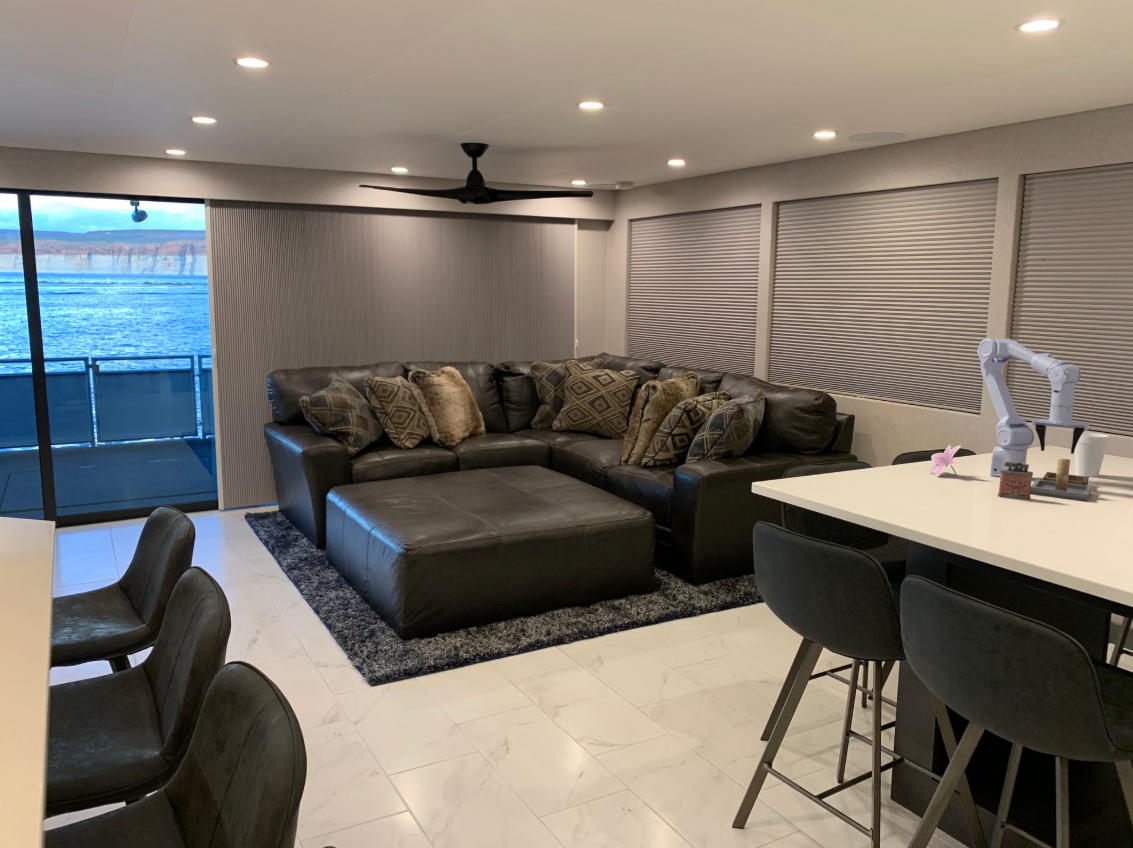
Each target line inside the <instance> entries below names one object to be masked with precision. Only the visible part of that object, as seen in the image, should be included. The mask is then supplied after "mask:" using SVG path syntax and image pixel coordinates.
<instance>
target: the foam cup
mask: <svg viewBox="0 0 1133 848" xmlns="http://www.w3.org/2000/svg"><path fill="white" fill-rule="evenodd" d="M1109 437H1110V436H1109V435H1107V434H1102V433H1096V432H1086V431H1084V432H1083V433H1082V435H1081V437H1080V439H1079V440H1078V442H1077V445H1076V447H1075V451H1074V469H1075V471H1074V473H1075V475H1077V476H1080V475H1081V476H1085V477H1086V476H1087V477H1089V478H1097V477H1096V476H1098V477H1099V475H1100V472H1101V468H1102V463H1103V461H1104V456H1105V454H1106V453H1105V452H1106V451H1107V446H1108V444H1109V439H1110V438H1109Z"/></svg>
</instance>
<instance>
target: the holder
mask: <svg viewBox="0 0 1133 848" xmlns="http://www.w3.org/2000/svg"><path fill="white" fill-rule="evenodd" d="M1056 474H1057V472H1051V471H1047V472H1046V473H1045V474H1044V476H1043V477H1042V480H1046V481H1054V482H1056ZM1089 479H1090V477H1086V476H1080V475H1076V474H1075V475H1074V474H1069V476H1068V483H1070V484H1078V485H1086V486H1089Z"/></svg>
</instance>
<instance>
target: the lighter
mask: <svg viewBox="0 0 1133 848" xmlns="http://www.w3.org/2000/svg"><path fill="white" fill-rule="evenodd" d="M1004 466H1007V467H1009V468H1008V469H1001V470H1000V473H1001V477H1000V476H999V477H1000V479H999V489H998V492H997V497H999V498H1005V499H1006V498H1007V499H1014V500H1028V501H1029V500H1031V494H1030V489H1031V486H1032V479H1033V475H1034V472H1033V471H1029V467H1030V464H1029V463H1026V464H1022V463H1021V462H1016V463H1014V462H1006V461H1005V462H1004ZM1011 467H1014V468H1013V470H1012V468H1011ZM1023 468H1024V470H1025V471H1024V470H1023Z"/></svg>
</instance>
